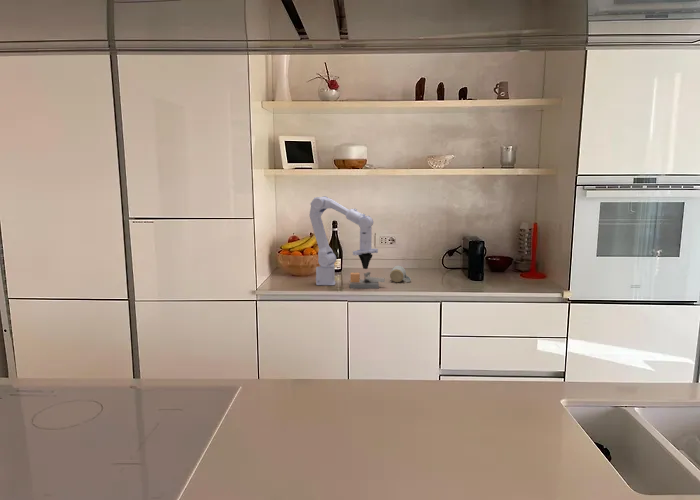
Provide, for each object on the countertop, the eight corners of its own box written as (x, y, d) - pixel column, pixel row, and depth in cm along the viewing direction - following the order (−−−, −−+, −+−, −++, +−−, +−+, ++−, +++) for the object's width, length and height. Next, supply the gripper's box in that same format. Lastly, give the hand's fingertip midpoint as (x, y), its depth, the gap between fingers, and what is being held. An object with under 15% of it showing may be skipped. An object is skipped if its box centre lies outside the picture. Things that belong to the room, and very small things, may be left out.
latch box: (349, 288, 250) (349, 284, 250) (349, 283, 261) (349, 279, 261) (378, 288, 250) (378, 284, 250) (377, 283, 261) (377, 279, 261)
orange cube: (350, 282, 254) (350, 274, 254) (350, 280, 259) (350, 272, 258) (359, 282, 254) (359, 274, 253) (359, 280, 259) (359, 272, 258)
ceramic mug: (389, 282, 263) (389, 267, 262) (391, 279, 271) (391, 265, 270) (409, 283, 261) (410, 269, 260) (411, 280, 269) (412, 266, 268)
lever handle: (382, 283, 250) (382, 275, 249) (362, 281, 254) (362, 273, 254) (385, 281, 254) (385, 273, 253) (366, 280, 258) (366, 271, 258)
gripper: (359, 243, 242) (359, 271, 244) (382, 240, 251) (381, 268, 253) (350, 241, 248) (349, 269, 250) (372, 239, 257) (372, 266, 259)
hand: (365, 268), depth 252 cm, fingers closed
